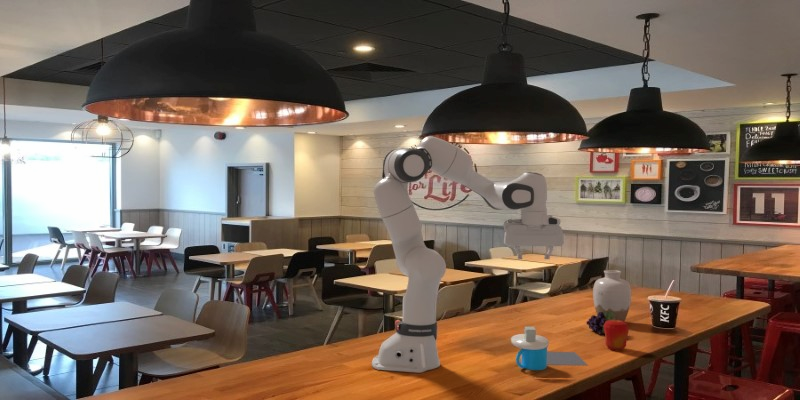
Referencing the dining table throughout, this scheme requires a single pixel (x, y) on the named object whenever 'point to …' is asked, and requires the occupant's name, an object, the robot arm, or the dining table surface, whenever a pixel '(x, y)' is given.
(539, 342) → the lid
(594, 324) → the fruit
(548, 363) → the mat
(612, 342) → the apple
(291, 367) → the dining table surface
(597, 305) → the vase
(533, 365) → the mug
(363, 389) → the dining table surface
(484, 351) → the dining table surface
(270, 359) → the dining table surface
